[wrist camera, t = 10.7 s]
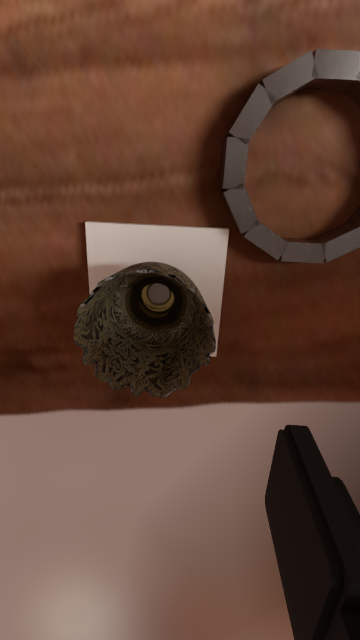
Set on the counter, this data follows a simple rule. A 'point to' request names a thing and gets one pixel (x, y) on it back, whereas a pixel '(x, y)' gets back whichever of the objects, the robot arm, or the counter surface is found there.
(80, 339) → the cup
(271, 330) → the counter surface
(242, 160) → the stone ring
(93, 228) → the stone coaster
